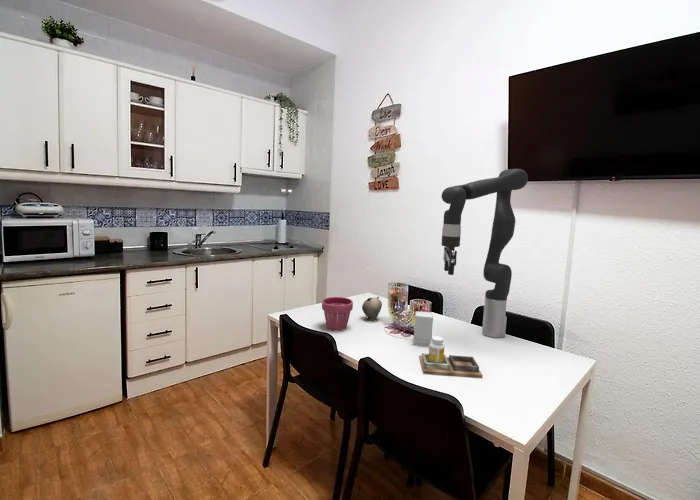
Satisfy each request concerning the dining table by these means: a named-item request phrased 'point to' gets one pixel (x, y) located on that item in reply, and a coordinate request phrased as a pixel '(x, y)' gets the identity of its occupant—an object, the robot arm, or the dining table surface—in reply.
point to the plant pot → (337, 312)
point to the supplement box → (423, 328)
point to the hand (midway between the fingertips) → (448, 272)
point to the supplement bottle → (436, 350)
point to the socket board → (451, 366)
